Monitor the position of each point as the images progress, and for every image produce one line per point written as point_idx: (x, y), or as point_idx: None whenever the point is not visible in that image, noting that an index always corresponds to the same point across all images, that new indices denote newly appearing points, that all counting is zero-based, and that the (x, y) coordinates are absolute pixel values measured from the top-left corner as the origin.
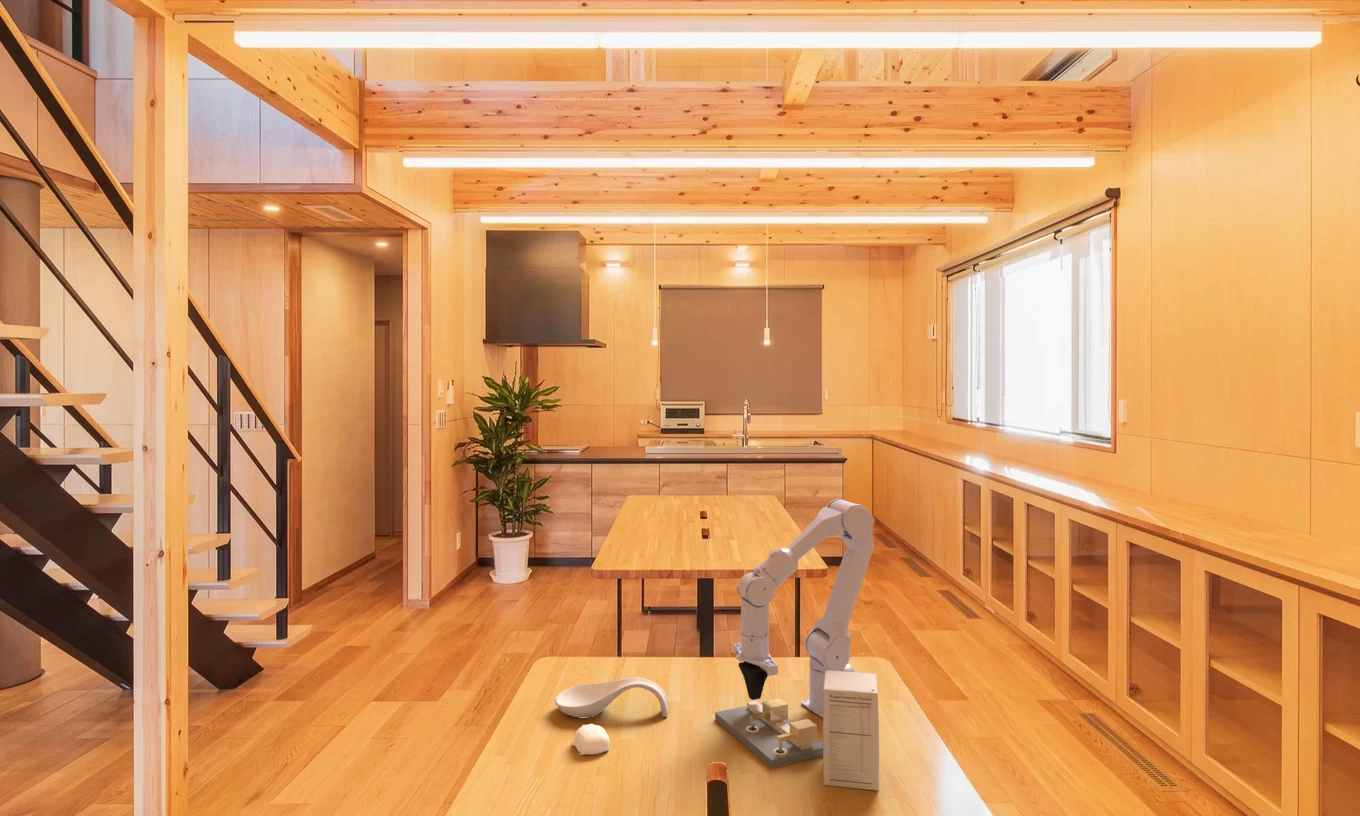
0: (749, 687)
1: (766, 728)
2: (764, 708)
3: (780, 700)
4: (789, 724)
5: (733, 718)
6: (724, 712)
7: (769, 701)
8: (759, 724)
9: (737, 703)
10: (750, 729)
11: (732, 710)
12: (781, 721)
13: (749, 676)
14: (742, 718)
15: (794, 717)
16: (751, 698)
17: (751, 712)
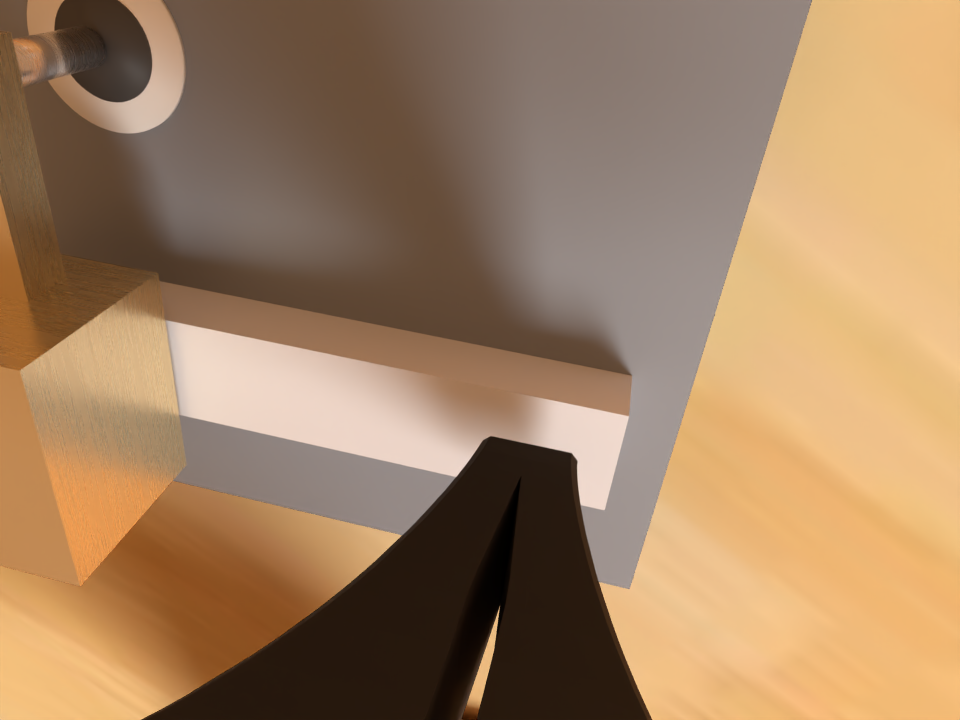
0: (460, 541)
1: (94, 203)
2: (23, 321)
3: (17, 553)
4: None
5: (482, 31)
6: (726, 39)
7: (18, 448)
8: (198, 203)
9: (951, 442)
10: (85, 8)
11: (696, 183)
12: None
13: (249, 707)
14: (423, 140)
15: None
16: (492, 444)
17: (501, 332)
